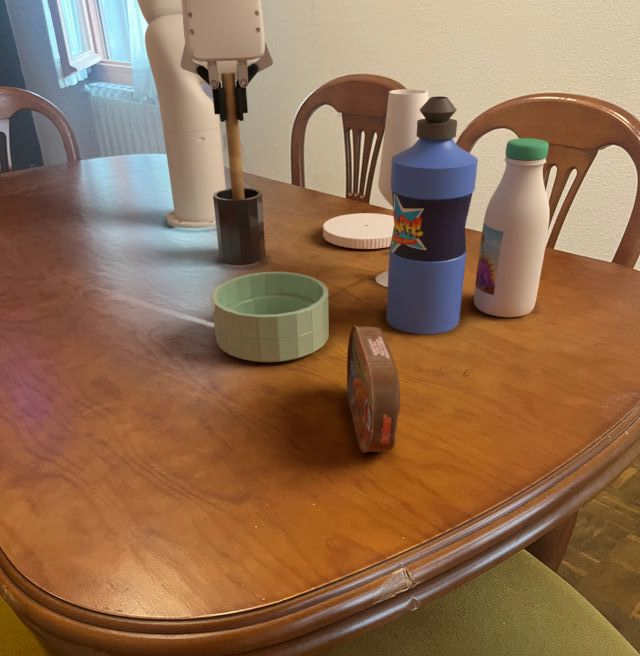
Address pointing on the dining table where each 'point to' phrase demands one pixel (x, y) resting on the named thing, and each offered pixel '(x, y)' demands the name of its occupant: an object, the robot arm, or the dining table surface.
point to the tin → (372, 389)
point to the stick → (233, 135)
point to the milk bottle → (514, 234)
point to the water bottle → (429, 225)
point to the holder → (240, 227)
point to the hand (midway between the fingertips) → (231, 118)
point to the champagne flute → (398, 138)
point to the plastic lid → (360, 230)
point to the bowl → (271, 316)
